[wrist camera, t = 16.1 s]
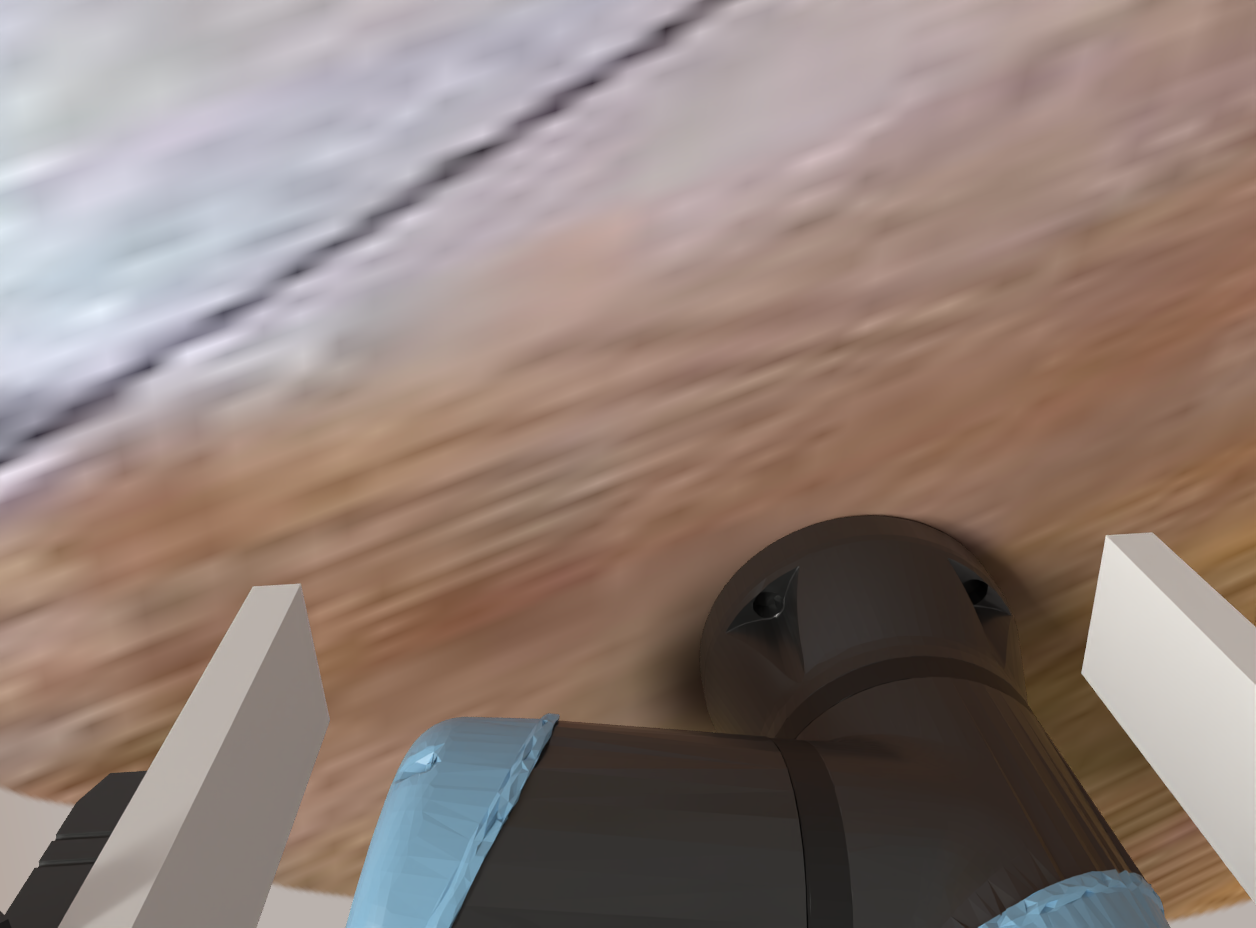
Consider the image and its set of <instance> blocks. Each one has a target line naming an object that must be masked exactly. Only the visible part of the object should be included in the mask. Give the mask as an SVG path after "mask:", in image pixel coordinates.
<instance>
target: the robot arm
mask: <svg viewBox="0 0 1256 928" xmlns="http://www.w3.org/2000/svg"><path fill="white" fill-rule="evenodd" d="M699 661H700V673H701V679H702V685H703V690H704V696H705V701H706V705H707V709H708V712H709V715H710V718H711V721H712V723H713V725H714V727H715V730H716V732H717V733H713V732H700V731H687V730H674V729H660V728H647V727H634V726H621V725H608V724H595V723H582V722H569V721H558V720H559V717H560V716H559V714H549V713H548V714H546V715H544V716H543V717H542V718H541V719H525V718H488V717H458V718H452V719H448V720H445V721H442V722H440V723H438V724H436V725H434V726H432V727H431V728H429V729H428V730H427V731H425V732H424V733H423V734H422V735H421V736H420V737H419V738H418V739H417V740H416V741H415V742H414V744H413V745H412V746H411V748H410V749H409V751H408V752H407V754H406V756H405V757H404V759H403V761H402V763H401V765H400V767H399V769H398V771H397V773H396V775H395V778H394V780H393V782H392V785H391V787H390V790H389V792H388V795H387V798H386V800H385V803H384V806H383V809H382V811H381V814H380V817H379V820H378V823H377V826H376V828H375V831H374V834H373V837H372V840H371V843H370V846H369V850H368V853H367V856H366V859H365V863H364V866H363V869H362V872H361V876H360V879H359V882H358V885H357V889H356V892H355V896H354V899H353V903H352V907H351V910H350V914H349V917H348V921H347V924H346V928H1170V926H1169V924H1168V922H1167V920H1166V919H1165V916H1164V909H1163V905H1162V902H1161V900H1160V897H1159V896H1158V895H1157V894H1156V893H1155V891H1154V889H1153V888H1152V887H1151V884H1148V883H1147V881H1146V880H1145V879H1144V877H1143V876H1142V874H1141V873H1140V871H1139V870H1138V868H1137V867H1136V865H1135V864H1134V862H1133V861H1132V859H1131V858H1130V856H1129V855H1128V853H1127V852H1126V850H1125V849H1124V847H1123V846H1122V844H1121V843H1120V841H1119V840H1118V838H1117V837H1116V835H1115V834H1114V832H1113V831H1112V830H1111V828H1110V827H1109V825H1108V824H1107V822H1106V821H1105V819H1104V818H1103V816H1102V815H1101V813H1100V812H1099V810H1098V809H1097V807H1096V806H1095V804H1094V803H1093V801H1092V800H1091V798H1090V797H1089V795H1088V794H1087V792H1086V791H1085V789H1084V788H1083V786H1082V785H1081V783H1080V782H1079V780H1078V779H1077V778H1076V776H1075V775H1074V773H1073V772H1072V770H1071V769H1070V767H1069V766H1068V764H1067V763H1066V761H1065V760H1064V758H1063V757H1062V755H1061V754H1060V752H1059V751H1058V749H1057V748H1056V746H1055V745H1054V743H1053V742H1052V740H1051V739H1050V737H1049V736H1048V734H1047V733H1046V731H1045V730H1044V729H1043V727H1042V726H1041V724H1040V723H1039V721H1038V720H1037V718H1036V717H1035V715H1034V714H1033V712H1032V711H1031V709H1030V707H1029V706H1028V702H1027V694H1026V687H1025V679H1024V672H1023V664H1022V657H1021V649H1020V642H1019V636H1018V630H1017V627H1016V623H1015V620H1014V617H1013V615H1012V612H1011V610H1010V607H1009V605H1008V603H1007V601H1006V599H1005V597H1004V595H1003V594H1002V592H1001V591H1000V589H999V588H998V586H997V585H996V583H995V582H994V581H993V579H992V578H991V577H990V575H989V574H988V572H987V571H986V570H985V568H984V567H983V566H982V564H981V563H980V562H979V561H978V559H977V558H976V557H975V556H974V555H973V554H972V553H971V552H970V551H969V550H967V549H966V548H965V547H964V546H963V545H961V544H960V543H959V542H957V541H956V540H954V539H953V538H951V537H950V536H948V535H946V534H944V533H942V532H940V531H939V530H936V529H934V528H932V527H929V526H926V525H924V524H921V523H918V522H914V521H910V520H906V519H900V518H894V517H885V516H856V517H846V518H840V519H834V520H829V521H825V522H821V523H818V524H814V525H811V526H808V527H806V528H803V529H800V530H798V531H796V532H793V533H791V534H789V535H787V536H785V537H783V538H781V539H779V540H777V541H776V542H774V543H772V544H771V545H769V546H768V547H766V548H765V549H763V550H762V551H760V552H759V553H758V554H756V555H755V556H754V557H753V558H751V559H750V560H749V561H748V562H747V563H746V564H745V565H743V566H742V567H741V568H740V569H739V570H738V571H737V573H736V574H735V575H734V576H733V577H732V578H731V579H730V580H729V582H728V583H727V584H726V585H725V587H724V588H723V590H722V591H721V593H720V594H719V596H718V597H717V599H716V601H715V603H714V604H713V606H712V609H711V611H710V613H709V615H708V618H707V620H706V623H705V626H704V630H703V634H702V638H701V645H700V660H699ZM1081 673H1082V675H1083V676H1084V677H1085V679H1086V680H1087V681H1088V683H1089V684H1090V685H1091V687H1092V688H1093V689H1094V691H1095V692H1096V693H1097V695H1098V696H1099V697H1100V699H1101V700H1102V701H1103V703H1104V704H1105V705H1106V707H1107V708H1108V709H1109V711H1110V712H1111V713H1112V715H1113V716H1114V717H1115V719H1116V720H1117V721H1118V723H1119V724H1120V725H1121V726H1122V728H1123V729H1124V730H1125V732H1126V733H1127V734H1128V736H1129V737H1130V738H1131V740H1132V741H1133V742H1134V744H1135V745H1136V746H1137V748H1138V749H1139V750H1140V752H1141V753H1142V754H1143V756H1144V757H1145V758H1146V760H1147V761H1148V762H1149V764H1150V765H1151V766H1152V768H1153V769H1154V770H1155V772H1156V773H1157V774H1158V776H1159V777H1160V778H1161V780H1162V781H1163V782H1164V784H1165V785H1166V786H1167V787H1168V789H1169V790H1170V791H1171V793H1172V794H1173V795H1174V797H1175V798H1176V799H1177V801H1178V802H1179V803H1180V805H1181V806H1182V807H1183V809H1184V810H1185V811H1186V813H1187V814H1188V815H1189V817H1190V818H1191V819H1192V821H1193V822H1194V823H1195V825H1196V826H1197V827H1198V829H1199V830H1200V831H1201V833H1202V834H1203V835H1204V837H1205V838H1206V839H1207V841H1208V842H1209V843H1210V845H1211V846H1212V847H1213V849H1214V850H1215V851H1216V852H1217V854H1218V855H1219V856H1220V858H1221V859H1222V860H1223V862H1224V863H1225V864H1226V866H1227V867H1228V868H1229V870H1230V871H1231V872H1232V874H1233V875H1234V876H1235V878H1236V879H1237V880H1238V882H1239V883H1240V884H1241V886H1242V887H1243V888H1244V890H1245V891H1246V892H1247V894H1248V895H1249V896H1250V898H1251V899H1252V900H1253V902H1254V903H1255V904H1256V627H1255V626H1254V625H1253V624H1252V623H1251V622H1250V621H1248V620H1247V619H1246V618H1245V617H1244V616H1243V615H1242V614H1241V613H1240V612H1239V611H1238V610H1236V609H1235V608H1234V607H1233V606H1232V605H1231V604H1230V603H1229V602H1228V601H1227V600H1226V599H1224V598H1223V597H1222V596H1221V595H1220V594H1219V593H1218V592H1217V591H1216V590H1215V589H1214V588H1212V587H1211V586H1210V585H1209V584H1208V583H1207V582H1206V581H1205V580H1204V579H1203V578H1201V577H1200V576H1199V575H1198V574H1197V573H1196V572H1195V571H1194V570H1193V569H1192V568H1191V567H1189V566H1188V565H1187V564H1186V563H1185V562H1184V561H1183V560H1182V559H1181V558H1180V557H1179V556H1177V555H1176V554H1175V553H1174V552H1173V551H1172V550H1171V549H1170V548H1169V547H1168V546H1166V545H1165V544H1164V543H1163V542H1162V541H1161V540H1160V539H1159V538H1158V537H1157V536H1156V535H1154V534H1153V533H1135V534H1119V535H1106V538H1105V544H1104V549H1103V555H1102V561H1101V566H1100V572H1099V577H1098V583H1097V589H1096V594H1095V600H1094V605H1093V611H1092V616H1091V622H1090V628H1089V633H1088V639H1087V644H1086V650H1085V655H1084V661H1083V667H1082V672H1081ZM329 722H330V718H329V714H328V709H327V704H326V700H325V695H324V690H323V686H322V681H321V676H320V671H319V667H318V662H317V657H316V653H315V648H314V643H313V639H312V634H311V629H310V625H309V620H308V615H307V610H306V606H305V601H304V596H303V592H302V587H301V584H287V585H271V586H254V587H252V589H251V591H250V593H249V594H248V596H247V598H246V600H245V601H244V603H243V605H242V607H241V608H240V610H239V612H238V614H237V615H236V617H235V619H234V621H233V622H232V624H231V626H230V628H229V629H228V631H227V633H226V635H225V636H224V638H223V640H222V642H221V643H220V645H219V647H218V649H217V650H216V652H215V654H214V656H213V657H212V659H211V661H210V663H209V664H208V666H207V668H206V670H205V671H204V673H203V675H202V677H201V678H200V680H199V682H198V684H197V685H196V687H195V689H194V691H193V692H192V694H191V696H190V698H189V699H188V701H187V703H186V705H185V706H184V708H183V710H182V712H181V713H180V715H179V717H178V718H177V720H176V722H175V724H174V725H173V727H172V729H171V731H170V732H169V734H168V736H167V738H166V739H165V741H164V743H163V745H162V746H161V748H160V750H159V752H158V753H157V755H156V757H155V759H154V760H153V762H152V764H151V766H150V767H149V769H148V771H139V772H123V773H110V774H109V775H108V776H106V777H105V778H104V779H103V780H102V781H101V782H100V783H98V784H97V785H96V786H95V787H94V788H93V789H91V790H90V791H89V792H88V793H87V794H86V795H85V796H83V797H82V798H81V799H80V800H79V801H78V802H77V803H76V804H75V806H74V807H73V809H72V810H71V812H70V814H69V815H68V817H67V818H66V820H65V821H64V823H63V824H62V826H61V828H60V829H59V831H58V833H57V834H56V840H55V841H52V842H51V843H50V845H49V847H48V848H47V850H46V851H45V853H44V854H43V856H42V857H41V859H40V861H39V867H38V868H34V870H33V871H32V873H31V875H30V876H29V878H28V879H27V881H26V882H25V884H24V885H23V887H22V889H21V890H20V892H19V894H18V895H17V896H16V898H15V900H14V901H13V903H12V904H11V906H10V907H9V909H8V911H7V912H6V914H5V915H4V914H3V913H2V912H1V911H0V928H256V927H257V924H258V921H259V918H260V916H261V913H262V910H263V907H264V904H265V902H266V898H267V896H268V893H269V890H270V888H271V885H272V882H273V879H274V876H275V874H276V871H277V868H278V865H279V862H280V859H281V857H282V854H283V851H284V848H285V845H286V843H287V840H288V837H289V834H290V831H291V829H292V826H293V823H294V820H295V817H296V814H297V812H298V809H299V806H300V803H301V800H302V798H303V795H304V792H305V789H306V786H307V784H308V781H309V778H310V775H311V772H312V769H313V767H314V764H315V761H316V758H317V755H318V753H319V750H320V747H321V744H322V741H323V739H324V736H325V733H326V730H327V727H328V725H329Z"/></svg>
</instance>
